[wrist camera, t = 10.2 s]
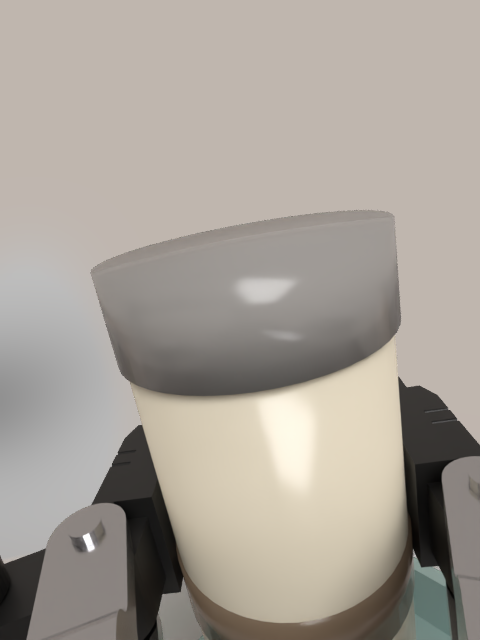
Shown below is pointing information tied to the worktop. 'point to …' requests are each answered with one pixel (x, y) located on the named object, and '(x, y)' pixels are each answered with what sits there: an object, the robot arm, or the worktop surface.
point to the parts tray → (428, 604)
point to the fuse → (274, 420)
